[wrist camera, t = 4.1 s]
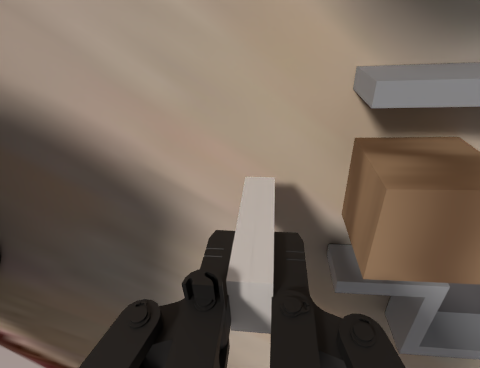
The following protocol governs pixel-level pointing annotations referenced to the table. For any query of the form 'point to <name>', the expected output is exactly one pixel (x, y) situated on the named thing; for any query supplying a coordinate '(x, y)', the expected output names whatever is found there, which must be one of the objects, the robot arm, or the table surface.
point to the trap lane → (409, 292)
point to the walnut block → (415, 209)
